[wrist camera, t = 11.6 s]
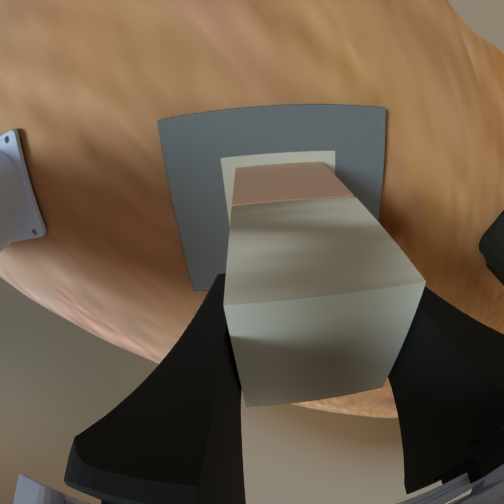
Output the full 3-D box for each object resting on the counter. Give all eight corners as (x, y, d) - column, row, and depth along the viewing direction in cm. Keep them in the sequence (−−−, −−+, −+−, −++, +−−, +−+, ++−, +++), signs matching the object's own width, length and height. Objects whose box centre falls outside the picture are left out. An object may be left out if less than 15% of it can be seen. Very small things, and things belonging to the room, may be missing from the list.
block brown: (244, 242, 17) (245, 299, 12) (235, 167, 14) (231, 204, 10) (320, 235, 17) (344, 289, 12) (321, 161, 14) (353, 195, 10)
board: (194, 287, 19) (193, 291, 19) (159, 119, 13) (157, 121, 13) (368, 271, 19) (370, 275, 18) (382, 107, 13) (386, 107, 12)
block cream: (244, 303, 12) (246, 407, 8) (231, 206, 10) (223, 305, 6) (346, 292, 12) (382, 387, 8) (356, 197, 10) (426, 281, 6)
